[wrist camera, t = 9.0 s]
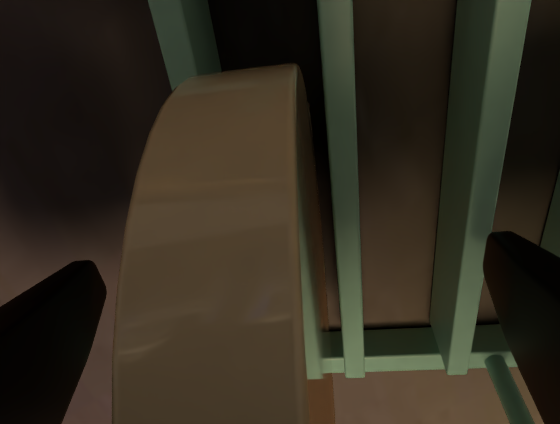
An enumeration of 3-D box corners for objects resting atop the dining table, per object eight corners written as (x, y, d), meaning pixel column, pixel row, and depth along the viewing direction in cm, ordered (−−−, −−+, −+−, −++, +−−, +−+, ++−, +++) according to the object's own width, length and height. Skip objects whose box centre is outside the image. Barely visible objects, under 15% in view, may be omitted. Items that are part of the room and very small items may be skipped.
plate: (301, 15, 9) (261, 418, 1) (328, 303, 14) (355, 771, 6) (232, 24, 10) (-163, 426, 2) (282, 306, 14) (248, 762, 6)
